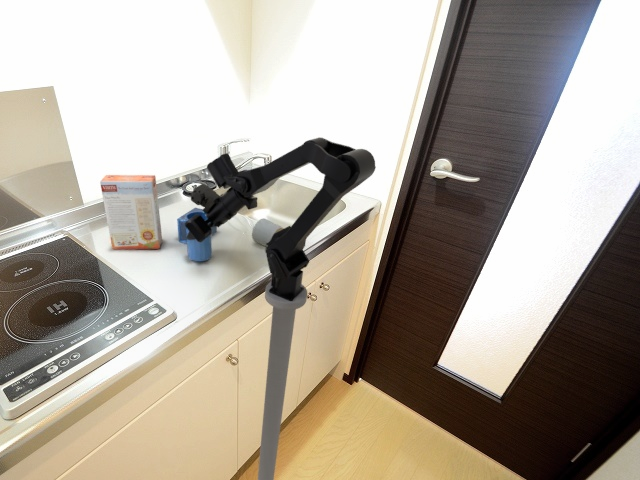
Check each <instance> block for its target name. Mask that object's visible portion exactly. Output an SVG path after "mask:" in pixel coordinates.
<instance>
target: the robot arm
mask: <svg viewBox="0 0 640 480" xmlns="http://www.w3.org/2000/svg"><path fill="white" fill-rule="evenodd" d="M309 164H311V165H312V166H314V168H316V169H317V170H318V172H319V173H321V174H322V175H324V177H323V182H322V187H321V188H320V189H319V191H318V192H317V193H316V194H315V196H314V197H313V198H312V199H311V201H310V202H309V203H308V205H307V206H306V207H305V208H304V210H303V211H302V212H301V213H300V214H299V216H298V217H297V219H296V220H295V221H294V222H293V223H292V225H288V226H287V227H283V228H284V229H282V230H280V231H278V232H276V233H274V235H273V236H272V238H271V240H270V241H269V242H268V243H266V245H268V246H267V247H266V248H265V250H264V252H265V255H266V260H267V264H268V270H269V273H270V274H271V281H270V282H271V286H272V288H271V289H269V292H270V293H272V294H274V295H277V296H279V297H281V298H284V299H286V300H288V301H293V300H294V299H295V298H296V297H297V296H298V295H299V294H300V293H301V292H302V291H303V290H304V288H303V287H301V284H302V283H303V276H304V271H303V270H304V269H305V268H307V267H308V265H309V264H310V260H309V258H308V256H307V254H306V252H305V251H304V248H305V247H306V241H307V238H308V237H309V236H310V235H311V234H312V233H313V232H314V230H315V229H316V228H317V227H318V226H319V225H320V224H321V223H322V221H323V220H324V219H325V218H326V217H327V215H328V214H329V213H330V212H331V211H332V210H333V209H334V207H335V206H336V205H337V204H338V203H339V202H340V201H341V199H342V198H344V196H346V195H347V194H349V193H350V192H352V191H353V190H354V189H356V188H357V187H359V186H360V185H361V184H363V183H364V182H365V181H366V180H368V179H369V178H371V176H373V174H374V173H375V171H376V168H377V167H376V160H375V157H374V155H373V154H372V152H370V151H369V150H367V149H365V148H357V149H356V148H354V147H351V146H349V145H344V144H341V143H338V142H334V141H330V140H329V139H326V138H324V137H316V138H312V139H308V140H306V141H304V142H303V143H302V144H301V145H299V146H297V147H296V148H294V149H292V150H290V151H288V152H287V153H285V154H282V155H281V156H279V157H277V158H276V159H274V160H272V161H270V162H268V163H267V164H264V165H260V166H257V167H254V168H251V169H243V170H238V169H237V167H236V165H235V164H234V162H233V160H232V157H231V156H230V155H229V153H228V152H226V153H221V155H220V156H218V157H216V158H215V159H213V160H212V161H210V162H208V164H207V166H206V170H207V171H208V172H209V174H210V176H211V178H212V179H213V181H214V182H215V184H216V186H217V187H218V189H221V188H223V189H224V190H225V192H224V193H221V194H218V193H217V191H216V190H214V189H213V188H211V187H209V186H208V185H206V184H205V183H202V184H199V185H197V186H196V187H195V188H194V189H193V190H192V192H191V193H190V194H189V196H190V201H191V202H192V203H194V204H195V205H197V206H201V207H203V208H202V209H203V211H204V213H205V214H206V213H207V214H206V215H205V216H206V217H207V218H208V219H207V220H204V219H203V218H202V216H201V215H197V214H196V215H195V216H193V217H192V218H190V219H189V220H188V221H186V222H185V226H186V228H187V229H188V230H189V233H188V235H187V237H186V238H187V239H188V240H197V241H198V242H200V243H201V242H202V241H203V240H205V239H206V238H207V237H208V236H210V235H211V234H212V229H211V228H212V227H215V226H217V228H219V227H221V226H223V225H224V224H226V223H227V222H228V221H230V220H231V219H232V218H234V217H235V216H236V215H237V214H238V213H239V212H240V211H241V210H242V209H243V208H244V207H246V208H247V210H249V211H250V210H253V209H256V208H258V197H257V196H255V195H257V194H261V193H263V192H266V191H267V190H268V189H270V188H271V187H272V186H273V185H275V183H276V182H277V181H278V180H279V179H280V178H282V177H284V176H287V175H289V174H290V173H293V172H295V171H297V170H299V169H301V168H304V167H305V166H307V165H309ZM226 189H227V190H226ZM210 222H211V223H210ZM209 223H210V224H209ZM208 224H209V225H208ZM302 285H303V284H302Z"/></svg>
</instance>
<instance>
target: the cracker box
mask: <svg viewBox="0 0 640 480" xmlns="http://www.w3.org/2000/svg"><path fill="white" fill-rule="evenodd" d="M156 177H157V176H156V174H106V175H104V176H103V178H102V179H101V180H100V181H99V184H100V189H101V195H102V201H103V206H104V211H105V217H106V222H107V223H106V224H107V229H108V233H109V239H110V244H111V248H112V250H159V249H160V248H161V246H162V242H163V233H162V225H161V224H162V223H161V215H160V206H159V195H158V188H157V179H156Z"/></svg>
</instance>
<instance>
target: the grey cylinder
mask: <svg viewBox="0 0 640 480" xmlns="http://www.w3.org/2000/svg"><path fill="white" fill-rule="evenodd" d="M284 228H285V227H282V226H281V225H279V224H277V223H275V222H273V221H271V220H269V219H267V218H265V217H264V218H260V219H259V220H257V222H255V224H254V226H253V228H252V232H251V238H252V240H253V241H254V242H255V243H258V244H259V245H262V246H263V247H266V248H267V246H268V245H266V243H268V242H269V241H270V240H271V238H272V236H273V235H274V233H276V232H278V231H280V230H282V229H284Z"/></svg>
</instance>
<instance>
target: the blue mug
mask: <svg viewBox="0 0 640 480" xmlns="http://www.w3.org/2000/svg"><path fill="white" fill-rule="evenodd" d="M196 214H197V215H201V216H202V218H203V219H204V220H207V219H208V218H207V217H206V216H205V215H206V214H207V213H206V214H205V213H204V212H200V211H197V212H191V213H188V214H187V215H186V216H185V220H184V219H180V218H179V217H178V218H177V219H176V223H177V224H176V225H177V236H178V242H179V244H184V245H186V252H187V258H188V259H189V260H191V261H194V262H204V261H208V260H210V259H211V258H212V256H213V242H212V241H213V239H212V237H213V236H212V234H211V235H210V236H208V237H207V238H206V239H205V240H203V241H202V242H201V243H200V242H198V241H197V240H188V239H187V241H185V240H182V235H181V222H183V223H185V222H186V221H188V220H189V219H190V218H192V217H193V216H195V215H196ZM210 223H211V222H210ZM210 223H209V224H210ZM209 224H208V225H209ZM188 233H189V230H188V229H187V228H186V237H187V235H188Z"/></svg>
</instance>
